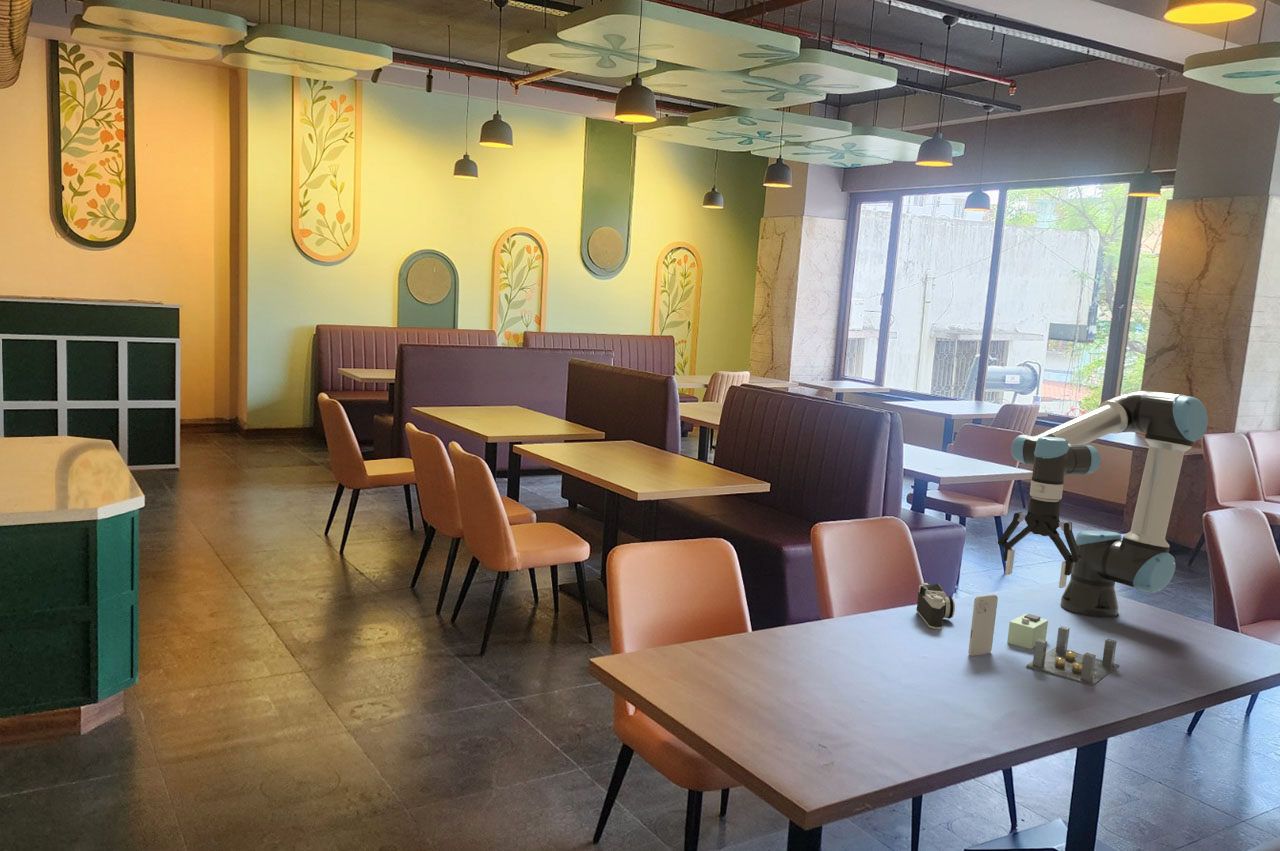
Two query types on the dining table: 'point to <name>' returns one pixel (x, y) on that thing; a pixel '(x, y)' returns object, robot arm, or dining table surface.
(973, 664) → the dining table surface
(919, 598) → the camera
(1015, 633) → the block
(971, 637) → the smartphone
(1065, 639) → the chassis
